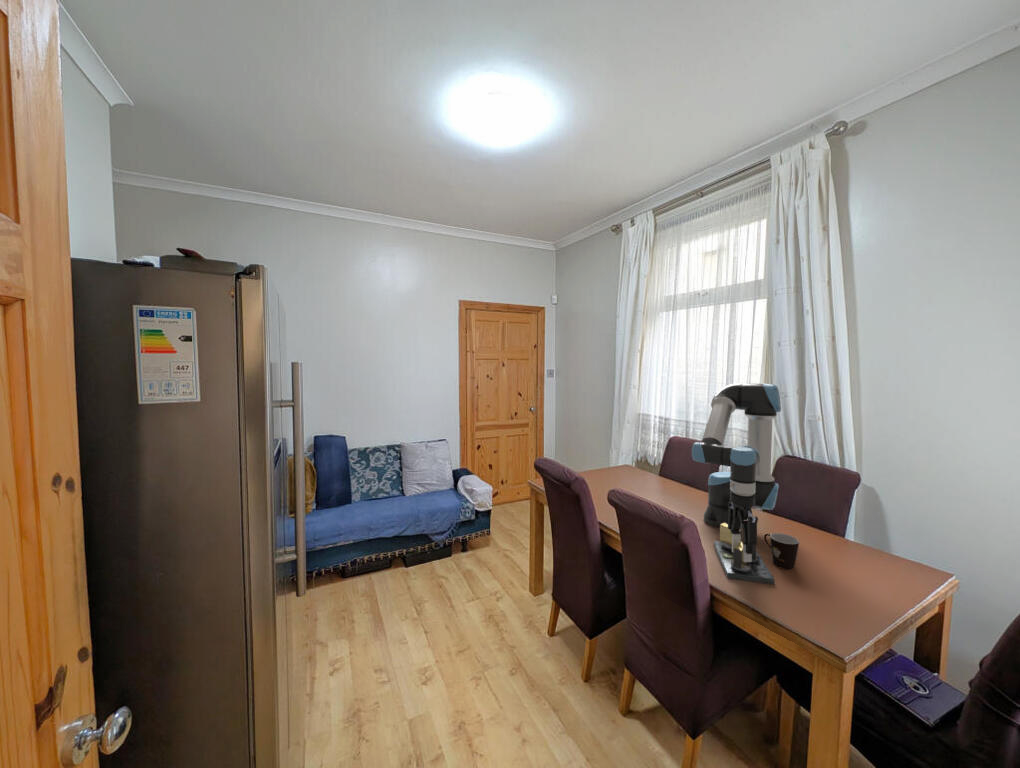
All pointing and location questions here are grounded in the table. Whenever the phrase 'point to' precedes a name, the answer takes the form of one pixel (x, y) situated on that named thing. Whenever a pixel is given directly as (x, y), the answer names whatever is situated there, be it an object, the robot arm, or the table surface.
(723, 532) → the tan block-handled knob
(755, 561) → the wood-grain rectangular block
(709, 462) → the robot arm
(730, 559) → the levelling plate
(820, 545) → the table surface
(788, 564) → the coffee mug
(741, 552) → the tan bar handle
